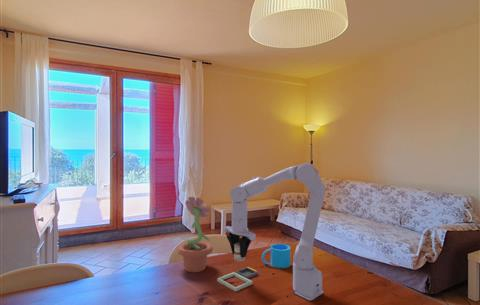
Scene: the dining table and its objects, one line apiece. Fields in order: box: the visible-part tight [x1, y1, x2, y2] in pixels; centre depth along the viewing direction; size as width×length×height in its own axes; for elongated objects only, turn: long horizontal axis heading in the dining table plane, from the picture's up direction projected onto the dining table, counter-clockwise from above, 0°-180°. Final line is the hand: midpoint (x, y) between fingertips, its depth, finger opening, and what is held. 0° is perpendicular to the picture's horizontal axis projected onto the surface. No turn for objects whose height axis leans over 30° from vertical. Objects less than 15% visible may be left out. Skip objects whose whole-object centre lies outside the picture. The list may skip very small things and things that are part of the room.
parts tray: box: [216, 271, 253, 292], centre depth 100 cm, size 10×8×2 cm
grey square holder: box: [235, 266, 259, 280], centre depth 107 cm, size 6×6×2 cm
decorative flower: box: [177, 196, 213, 273], centre depth 113 cm, size 15×14×30 cm
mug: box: [261, 243, 291, 269], centre depth 117 cm, size 12×8×8 cm
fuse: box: [233, 242, 246, 262], centre depth 103 cm, size 4×4×6 cm
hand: (239, 255), depth 103 cm, fingers closed on fuse, 4 cm apart
